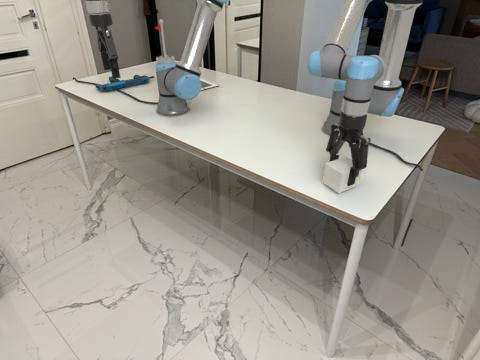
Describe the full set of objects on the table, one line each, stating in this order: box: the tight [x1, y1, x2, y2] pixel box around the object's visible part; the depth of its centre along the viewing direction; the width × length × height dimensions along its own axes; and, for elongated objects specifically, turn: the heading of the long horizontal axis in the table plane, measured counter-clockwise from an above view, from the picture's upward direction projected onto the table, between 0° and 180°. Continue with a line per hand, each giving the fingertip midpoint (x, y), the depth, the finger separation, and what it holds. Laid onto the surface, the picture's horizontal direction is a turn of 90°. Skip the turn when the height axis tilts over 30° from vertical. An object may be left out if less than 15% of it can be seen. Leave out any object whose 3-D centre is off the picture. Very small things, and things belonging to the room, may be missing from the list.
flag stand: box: [154, 18, 176, 65], centre depth 234 cm, size 13×13×30 cm
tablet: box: [199, 77, 219, 91], centre depth 207 cm, size 32×20×1 cm, turn 41°
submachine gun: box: [95, 74, 155, 92], centre depth 206 cm, size 34×4×25 cm
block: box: [322, 155, 363, 194], centre depth 110 cm, size 8×9×7 cm
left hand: (112, 73), depth 132 cm, fingers open, 13 cm apart
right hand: (341, 178), depth 111 cm, fingers closed on block, 7 cm apart
